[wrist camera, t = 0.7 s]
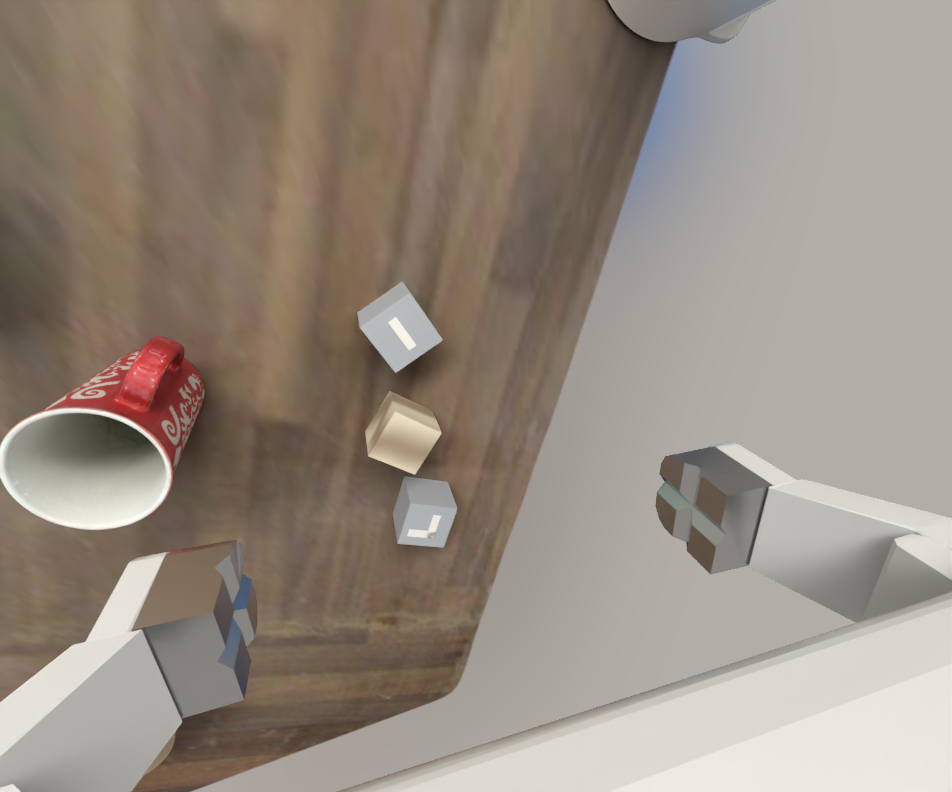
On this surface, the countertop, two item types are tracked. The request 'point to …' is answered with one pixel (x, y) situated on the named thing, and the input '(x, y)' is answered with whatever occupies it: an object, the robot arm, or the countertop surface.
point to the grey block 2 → (424, 512)
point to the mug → (107, 442)
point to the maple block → (402, 433)
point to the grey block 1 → (398, 327)
